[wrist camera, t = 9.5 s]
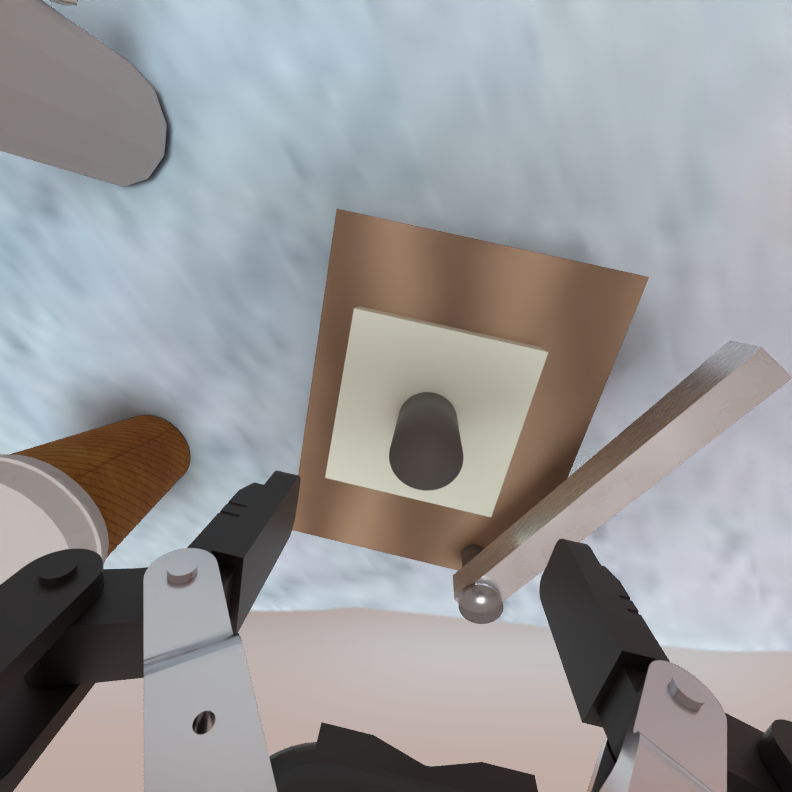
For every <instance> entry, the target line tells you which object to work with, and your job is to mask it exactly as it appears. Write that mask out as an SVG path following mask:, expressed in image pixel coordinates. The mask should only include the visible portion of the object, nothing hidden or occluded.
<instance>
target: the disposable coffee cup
mask: <svg viewBox="0 0 792 792" xmlns="http://www.w3.org/2000/svg"><path fill="white" fill-rule="evenodd" d="M189 463H190V452H189V448H188V445H187V443H186V440H185V439H184V437H183V435H182V434H181V433H180V432H179V431H178V429H176V428H175V427H174V426H173V425H172V424H170V423H169V422H167V421H166V420H163V419H161V418H159V417H155V416H151V415H141V416H136V417H133V418H130V419H127V420H123V421H120V422H116V423H113V424H110V425H106V426H103V427H100V428H96V429H93V430H90V431H86V432H83V433H80V434H76V435H73V436H70V437H66V438H63V439H59V440H56V441H53V442H49V443H46V444H43V445H40V446H36V447H33V448H30V449H26V450H23V451H20V452H16V453H13V454H10V455H0V585H1V584H2V583H3V582H5V581H6V580H7V579H8V578H10V577H11V576H12V575H14V574H15V573H16V572H18V571H19V570H20V569H21V568H23V567H24V566H26V565H27V564H29V563H30V562H32V561H34V560H36V559H38V558H40V557H42V556H44V555H47V554H50V553H53V552H56V551H60V550H66V549H88V550H92V551H94V552H96V553H98V554H99V555H100V556H101V558H102V560H103V564H104V562H105V560H106V558H107V557H108V556H109V555H110V553H111V552H112V551H113V550H114V549H115V548H116V547H117V545H119V544H120V543H121V542H122V541H123V539H124V538H125V537H126V536H127V535H128V534H129V533H130V531H132V530H133V529H134V528H135V527H136V525H138V523H139V522H140V521H141V519H143V518H144V517H145V516H146V515H147V513H149V511H150V510H151V509H152V508H153V507H154V506H155V505H156V504H157V502H159V501H160V500H161V498H162V497H163V496H164V495H165V494H166V493H167V492H168V491H169V490H170V489H171V487H173V485H174V484H175V483H176V482H177V481H178V480H179V479H180V478H181V477H182V476H183V475H184V474H185V473H186V471H187V469H188V467H189Z"/></svg>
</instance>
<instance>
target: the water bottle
mask: <svg viewBox="0 0 792 792" xmlns="http://www.w3.org/2000/svg"><path fill="white" fill-rule="evenodd" d="M50 1H51V2H56V3H58V4H62V5H77V1H78V0H50ZM166 130H167V125H166V121H165V118H164V115H163V113H162V110H161V107H160V104H159V101H158V98H157V95H156V92H155V89H154V88H153V87H152V86H151V85H150V84H149V83H148V82H147V81H146V79H145V78H144V77H143V76H142V75H141V74H140V73H139V72H138V71H137V70H136V69H135V68H134V67H133V65H132V64H131V63H130V62H128V61H127V60H125V59H124V58H122V57H121V56H120V55H118V54H117V53H115V52H114V51H113V50H111V49H110V48H108V47H107V46H106V45H104V44H103V43H101V42H100V41H98V40H97V39H96V38H94V37H93V36H91V35H90V34H89V33H87V32H86V31H84V30H83V29H82V28H80V27H79V26H77V25H76V24H74V23H73V22H72V21H70V20H69V19H67V18H66V17H65V16H63V15H62V14H60V13H59V12H58V11H56V10H55V9H53V8H52V7H50V6H49V5H48V4H46V3H45V2H43V1H42V0H0V151H3V152H7V153H10V154H13V155H17V156H20V157H24V158H27V159H31V160H34V161H37V162H41V163H44V164H48V165H51V166H54V167H58V168H61V169H65V170H68V171H71V172H75V173H78V174H82V175H85V176H88V177H92V178H95V179H99V180H102V181H106V182H109V183H112V184H116V185H119V186H123V187H124V186H127V185H130V184H134V183H137V182H140V181H143V180H146V179H148V178H149V176H150V175H151V174H152V172H153V171H154V169H155V168H156V167H157V165H158V164H159V162H160V161H161V160H162V158H163V157H164V154H165V142H166Z"/></svg>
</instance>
